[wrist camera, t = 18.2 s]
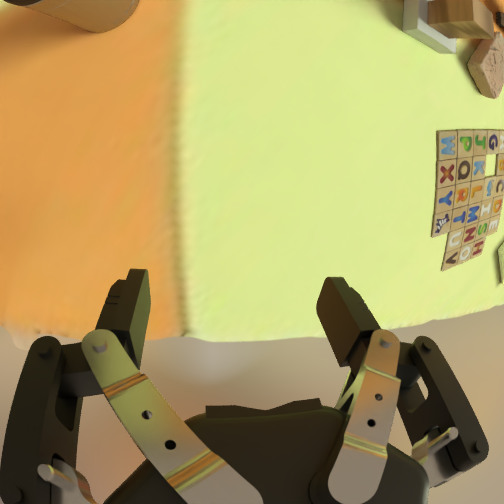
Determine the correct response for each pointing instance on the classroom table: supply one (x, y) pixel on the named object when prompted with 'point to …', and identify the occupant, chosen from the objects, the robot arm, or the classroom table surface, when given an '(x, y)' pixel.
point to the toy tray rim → (501, 261)
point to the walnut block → (461, 19)
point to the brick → (488, 66)
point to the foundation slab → (425, 27)
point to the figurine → (500, 19)
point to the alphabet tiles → (467, 191)
